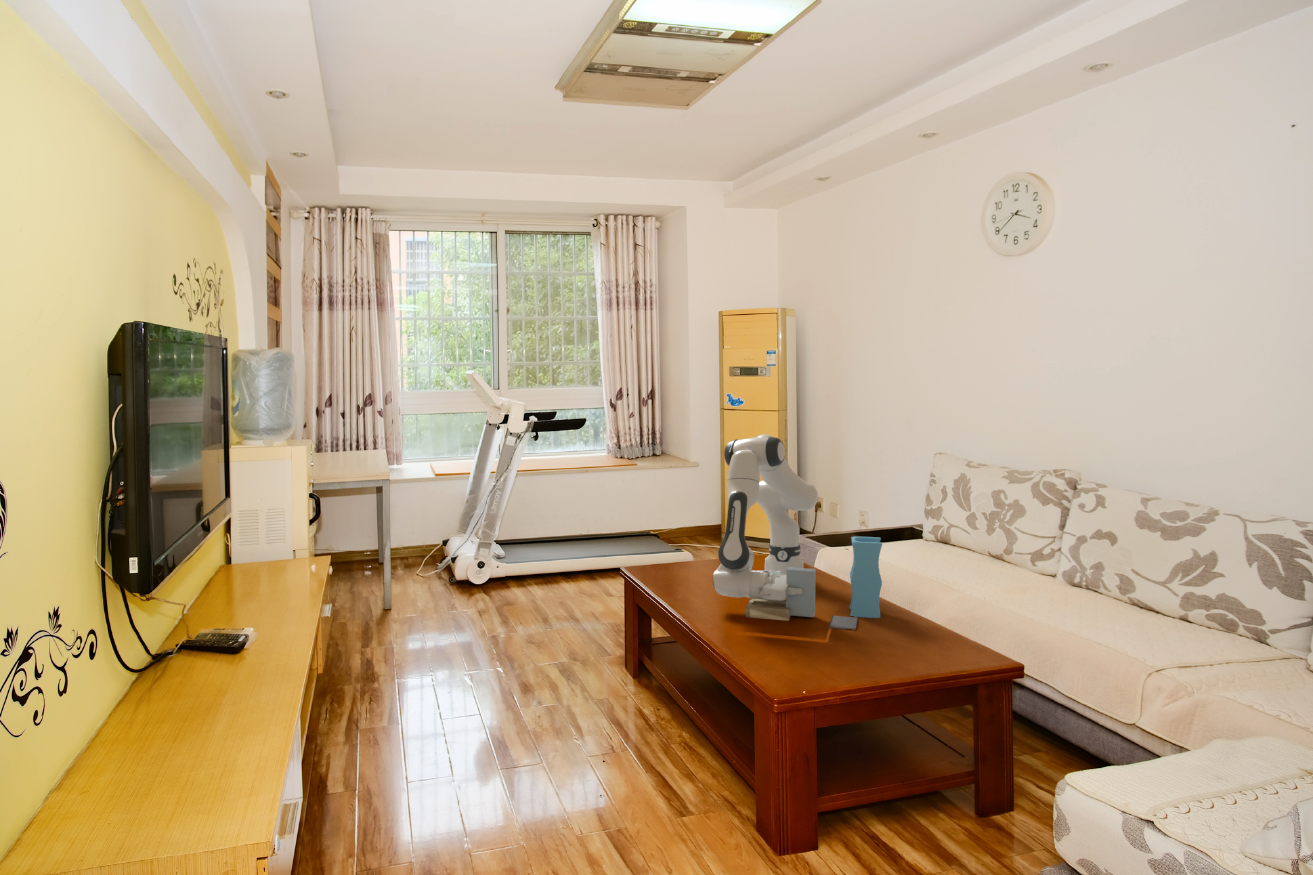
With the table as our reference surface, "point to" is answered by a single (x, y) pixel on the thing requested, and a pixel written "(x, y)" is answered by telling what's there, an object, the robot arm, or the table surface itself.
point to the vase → (865, 577)
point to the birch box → (767, 609)
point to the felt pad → (843, 622)
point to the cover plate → (806, 600)
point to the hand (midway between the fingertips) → (803, 589)
